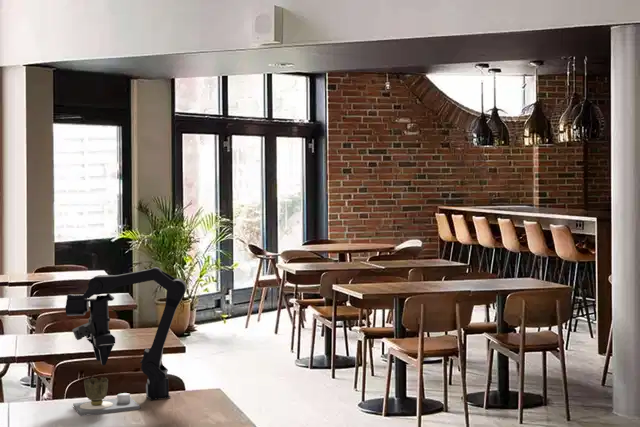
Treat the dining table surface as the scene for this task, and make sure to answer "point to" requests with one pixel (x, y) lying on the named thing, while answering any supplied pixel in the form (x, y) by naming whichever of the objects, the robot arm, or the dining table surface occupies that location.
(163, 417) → the dining table surface
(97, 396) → the cup
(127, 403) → the carrier plate
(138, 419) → the dining table surface
